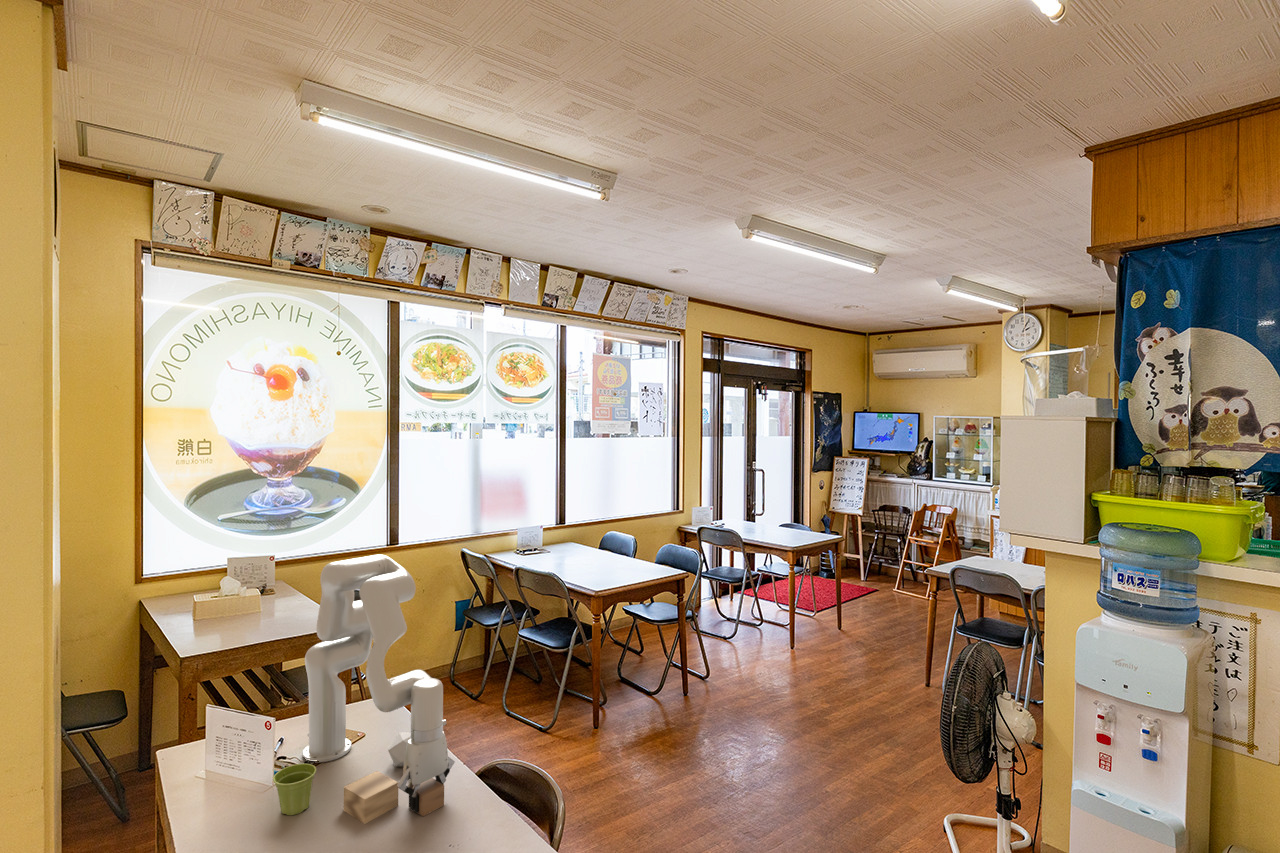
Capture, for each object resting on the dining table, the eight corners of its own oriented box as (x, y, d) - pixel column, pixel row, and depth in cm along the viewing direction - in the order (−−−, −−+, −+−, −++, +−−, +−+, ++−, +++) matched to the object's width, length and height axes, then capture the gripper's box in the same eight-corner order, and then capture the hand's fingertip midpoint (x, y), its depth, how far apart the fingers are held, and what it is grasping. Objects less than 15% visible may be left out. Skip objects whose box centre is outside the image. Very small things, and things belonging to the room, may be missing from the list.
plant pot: (272, 824, 155) (272, 787, 155) (273, 803, 163) (273, 768, 163) (316, 813, 159) (316, 778, 159) (315, 793, 168) (315, 759, 168)
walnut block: (408, 806, 162) (408, 786, 162) (430, 796, 167) (430, 776, 167) (422, 816, 158) (422, 796, 158) (444, 805, 163) (444, 785, 163)
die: (403, 778, 176) (426, 743, 179) (376, 758, 178) (400, 724, 181) (412, 773, 184) (435, 740, 187) (387, 754, 186) (410, 721, 189)
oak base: (343, 811, 161) (343, 786, 161) (376, 794, 168) (376, 770, 168) (364, 824, 156) (364, 799, 155) (398, 806, 163) (398, 782, 163)
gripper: (447, 714, 171) (447, 783, 172) (386, 739, 158) (385, 814, 158) (465, 723, 167) (465, 794, 167) (403, 750, 153) (403, 826, 153)
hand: (426, 803), depth 163 cm, fingers closed on walnut block, 6 cm apart
